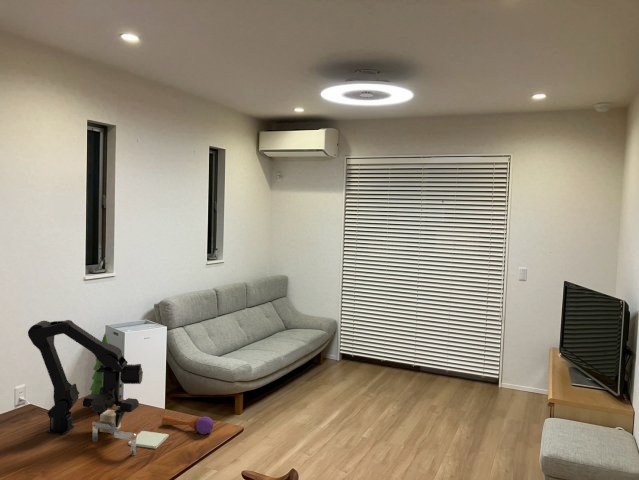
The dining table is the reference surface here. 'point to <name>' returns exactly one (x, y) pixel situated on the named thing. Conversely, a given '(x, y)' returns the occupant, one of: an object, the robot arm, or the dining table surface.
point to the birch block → (108, 419)
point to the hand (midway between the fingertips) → (110, 426)
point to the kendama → (191, 423)
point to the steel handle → (114, 433)
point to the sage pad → (149, 439)
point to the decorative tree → (98, 374)
